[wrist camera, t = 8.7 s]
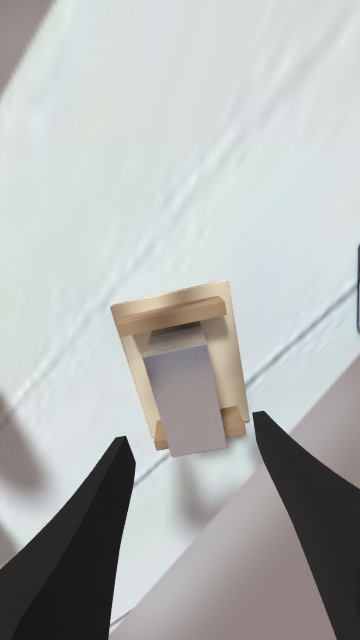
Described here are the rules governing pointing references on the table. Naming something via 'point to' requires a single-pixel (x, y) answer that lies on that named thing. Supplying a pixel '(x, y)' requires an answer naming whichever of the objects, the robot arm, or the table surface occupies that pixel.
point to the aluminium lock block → (184, 389)
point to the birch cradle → (221, 338)
